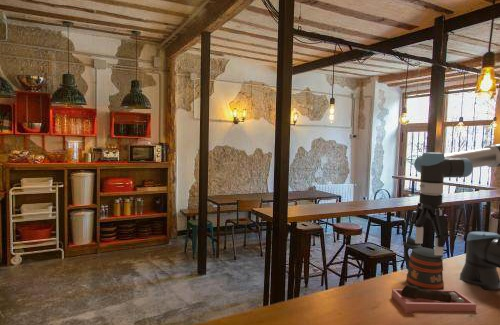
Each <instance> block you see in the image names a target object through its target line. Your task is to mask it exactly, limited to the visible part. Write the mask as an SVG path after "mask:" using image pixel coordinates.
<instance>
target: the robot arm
mask: <svg viewBox="0 0 500 325" xmlns="http://www.w3.org/2000/svg"><path fill="white" fill-rule="evenodd" d="M413 163H414V168H415V170H416V171H417V172H418V173H420V184H419V192H420V193H419V202H417V208H416V211H415V214H414V217H413V218H412V224H413V225H414V227H415V239H414V240H415V243H417V245H420V244H423V242H424V226H425V225H424V224H425V223H426V221H427V219H429V221H430V222H431V224H432V227H433V229H434V232H435V234H436V235H435V237H434V250H435V251H434V255H443V256H444V245H445V244H444V243H445V239H446V238H449V236H450V235H449V231H448V227H447V222H446V216H445V209H439V207H440V206H442V204H443V195H442V194H443V192H444V189H443V188H444V179H445V178H459V179H462V178H467V177H469V176H470V175H471V174H472V173H473V171H474V168H481V167H486V166H487V167H488V168H494V167H495V168H499V167H500V143H496V144H491V145H490V144H489V145H486V146H484V147H483V148H477V149H471V150H465V151H455V152H449V153H443V152H430V151H427V152H423V153H422V155H419V156H417V158H416V159H415V160H414V162H413ZM466 236H467V237H466V244H465V245H466V247H465V263H464V265H463V267H462V269H461V272H460V274H459V280H460V281H463V282H465V283H468V284H469V285H473V286H477V287H479V288H481V289H482V290H486V291H488V290H489V291H497V290H499V289H500V276H499V273H498V268H499V269H500V234H499V233H496V232H491V231H489V232H488V231H470V232H468V233H467V235H466Z"/></svg>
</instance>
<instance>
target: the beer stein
mask: <svg viewBox="0 0 500 325" xmlns="http://www.w3.org/2000/svg"><path fill="white" fill-rule="evenodd" d="M402 245H403V246H405V247H404V250H403V256H404V257H403V258H404V260H405V263H406V266H407V267H406V269H407V274H406V280H405V286H406V285H410V286H416V287H418V288H419V289H426V290H445V288H444V287H445V286H444V285H445V284H444V282H445V281H444V279H443V275H444V274H443V271H444V264H443V257H444V254H443V255H434V251H435V248H434V249H433V248H430V247H429V248H428V247H423V246H422V245H420V244H417V243H415V239H414V238H412V237H411V236H407V238H406V241H405V242H403V244H402ZM410 249H411V253H410V255H409V250H410Z"/></svg>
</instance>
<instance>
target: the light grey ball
mask: <svg viewBox="0 0 500 325" xmlns="http://www.w3.org/2000/svg"><path fill="white" fill-rule="evenodd" d="M449 294H450V295H451V300H452V301H455V300H456V298H458V295H457V294H456V293H454V292H451V293H449Z"/></svg>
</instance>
